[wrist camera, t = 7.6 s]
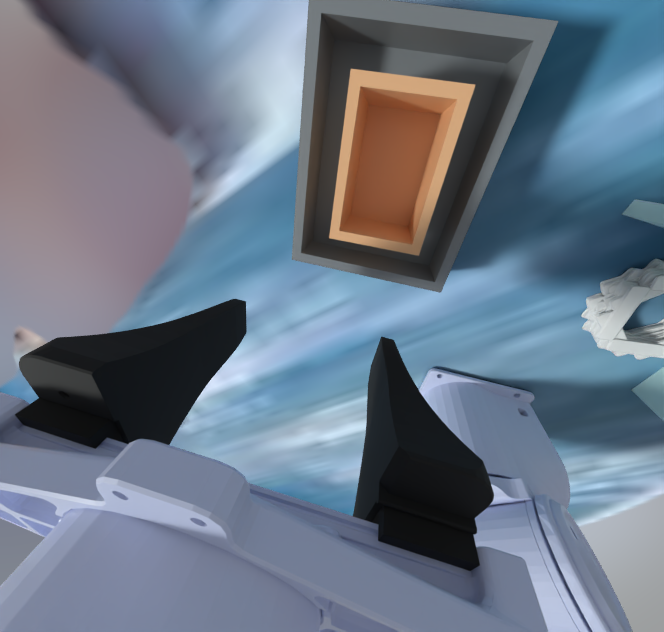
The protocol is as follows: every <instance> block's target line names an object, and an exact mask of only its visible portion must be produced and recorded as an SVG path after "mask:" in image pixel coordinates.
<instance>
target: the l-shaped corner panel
mask: <svg viewBox="0 0 664 632" xmlns="http://www.w3.org/2000/svg"><path fill="white" fill-rule="evenodd" d="M622 215H625V216H628V217H631V218H634V219H638V220H641V221H644V222H647V223H650V224H653V225H656V226H659V227H662V228H664V204H660V203H654V202H648V201H642V200H636V199H635V200H634V201H633V202H632V203H631V204H630V205H629V207H628V208H627V209H626V210H625V211H624V212H623V213H622ZM600 287H601V292H602V293H598V294H595V295H593V296H590V297H587V300H586V304H587V309H586V310H585V311H584V312H583V313H582V315H581V316H582V317H583V318H586V319H589V320H588V321H587V322H586V323H585V324H584V325H583V327H582V329H584V330H587V331H589V332H591V334H592V335H593V337H594V340H595V342H596V343H597V346H598V347H599V348H602V349H606V350H609V351H612V353H614V355H615V356H622V355H625V354H631V355H633V354H634V356H635V358H636V359H638V360H641V359H645V358H648V357H658V358H664V319H663V320H661V321H660V322H659V323H656V324H651V325H647V326H643V327H639V328H635V329H631V330H627V331H626V330H623V326H624V325H625V324H626V322H627V321H628V319H629V318H630V317H631V315H632V314H633V313H634V311H635V310H636V308H637V307H638V306H639V304H640V303H641V302H644V301H646V300H649V299H651V298H654V297H656V296H659V295H661V294H664V261H662V260H660V259H654V260H653V261H651V262H650V263H649V264H648V265H647V266H646V267H645V268H644V269H637V268H629V269H628V270H627V271H626V272H625V273H623V274H622V275H621V276H618V277H615V278H611V279H608V280H605V281H602V282H601V283H600ZM632 391H633V392H634V393H635V394H636V395H637V396H638V397H639V398H640V399H641V400H642V401H643V402H644V403H645V404H646V405H647V406H648V407H649V408H650V409H651V410H652V411H653V412H654V413H655V414H656V415H657V416H658V417H659V418H661V419H662V420H663V421H664V367H663V368H662V369H660V370H659V371H657V372H656V373H654V374H653V375H652V376H650V377H649V378H647V379H646V380H644V381H643V382H642V383H640V384H639V385H637V386H636V387H634V388H633V389H632Z"/></svg>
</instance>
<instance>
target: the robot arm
mask: <svg viewBox="0 0 664 632" xmlns="http://www.w3.org/2000/svg"><path fill="white" fill-rule="evenodd" d="M245 334H246V301H242V300H238V299H232V300H229V301H226V302H224V303H221V304H218V305H216V306H213V307H210V308H208V309H205V310H203V311H200V312H197V313H194V314H191V315H188V316H185V317H182V318H179V319H176V320H173V321H169V322H166V323H162V324H158V325H154V326H149V327H144V328H139V329H133V330H128V331H122V332H115V333H107V334H99V335H90V336H77V337H76V336H75V337H60V338H56V339H54V340H52V341H50V342H48V343H46V344H45V345H43V346H41V347H39V348H37V349H35V350H33V351H31V352H30V353H28V354H26V355H24V356H22V357H21V358H20V361H19V367H20V370H21V372H22V374H23V376H24V377H25V379H26V380H27V381H28V383H29V384H30V386H31V387H32V388H33V390H34V391H35V393H36V394H37V395H38V397H39V399H37V400H36V401H34V402H33V403H31V404H29V403H28V402H26V401H25V400H22V399H20V398H17V397H14V396H11V395H8V394H4V393H1V392H0V518H1V519H4V520H6V521H8V522H11V523H13V524H15V525H18V526H20V527H22V528H25V529H27V530H29V531H32V532H34V533H36V534H39V535H41V536H44V537H45V538H44V540H42V542H41V543H40V544H39V545H38V546H37V547H36V548H35V549H34V550H33V551H32V552H31V554H30V555H29V556H28V557H27V558H26V559H25V560H24V561H23V562H22V563H21V564H20V565H19V567H18V568H17V569H16V570H15V571H14V572H13V573H12V574H11V575H10V576H9V577H8V578H7V579H6V581H5V582H4V583H3V584H2V585H1V586H0V632H633V631H632V629H631V626H630V624H629V621H628V619H627V617H626V615H625V612H624V610H623V608H622V606H621V604H620V602H619V600H618V598H617V596H616V594H615V592H614V590H613V588H612V586H611V584H610V582H609V580H608V578H607V576H606V574H605V572H604V571H603V569H602V567H601V565H600V563H599V561H598V559H597V558H596V556H595V554H594V552H593V550H592V549H591V547H590V545H589V543H588V542H587V540H586V539H585V537H584V535H583V533H582V532H581V530H580V528H579V527H578V525H577V524H576V522H575V521H574V519H573V518H572V516H571V515H570V513H569V512H568V511H567V508H568V505H569V501H570V486H569V480H568V476H567V472H566V469H565V466H564V464H563V462H562V460H561V458H560V457H559V455H558V453H557V451H556V449H555V448H554V446H553V444H552V442H551V441H550V439H549V437H548V435H547V433H546V432H545V430H544V428H543V426H542V424H541V423H540V421H539V419H538V417H537V416H536V414H535V412H534V410H533V408H532V407H531V405H530V403H531V402H532V401H533V400H534V398H535V397H534V395H533V394H532V393H531V392H528V391H524V390H520V389H516V388H512V387H508V386H504V385H500V384H496V383H492V382H488V381H484V380H480V379H476V378H472V377H468V376H464V375H460V374H456V373H452V372H448V371H444V370H440V369H435V368H433V369H430V370H429V371H428V373H427V375H426V377H425V379H424V381H423V383H422V385H421V387H420V389H419V390H418V388H417V387H416V385H415V383H414V382H413V380H412V378H411V376H410V375H409V373H408V371H407V369H406V367H405V365H404V363H403V361H402V358H401V356H400V354H399V351H398V349H397V347H396V344H395V342H394V340H392V339H388V338H384V337H381V339H380V342H379V345H378V348H377V351H376V354H375V356H374V359H373V362H372V365H371V370H370V376H369V382H368V401H367V426H366V436H365V443H364V450H363V457H362V464H361V470H360V477H359V483H358V489H357V496H356V502H355V507H354V513H353V516H350V515H347V514H344V513H341V512H337V511H334V510H331V509H328V508H325V507H322V506H319V505H316V504H312V503H309V502H306V501H303V500H300V499H297V498H294V497H291V496H288V495H284V494H281V493H278V492H275V491H272V490H269V489H266V488H263V487H260V486H256V485H253V484H250V483H248V482H247V480H246V478H245V476H244V475H242V474H241V473H240V472H239V471H238V470H236V469H235V468H234V467H231V466H229V465H227V464H225V463H223V462H220V461H217V460H214V459H211V458H208V457H205V456H202V455H198V454H195V453H192V452H189V451H186V450H183V449H179V448H176V447H173V446H170V445H169V444H170V443H171V441H172V439H173V437H174V436H175V434H176V432H177V430H178V429H179V427H180V425H181V424H182V422H183V420H184V419H185V417H186V415H187V414H188V412H189V411H190V409H191V408H192V406H193V404H194V403H195V401H196V400H197V398H198V397H199V395H200V394H201V392H202V391H203V389H204V388H205V386H206V385H207V384H208V382H209V381H210V380H211V378H212V377H213V376H214V375H215V374H216V373H217V371H218V370H219V369H220V368H221V367H222V365H223V364H224V363H225V362H226V361H227V360H228V358H229V357H230V356H231V355H232V353H233V352H234V351H235V350H236V349H237V347H238V346H239V344H240V343H241V341H242V339H243V338H244V336H245ZM438 374H441V375H438Z"/></svg>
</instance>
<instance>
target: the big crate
mask: <svg viewBox="0 0 664 632" xmlns="http://www.w3.org/2000/svg"><path fill="white" fill-rule="evenodd" d="M557 24H558V21H553V20H545V19H537V18H529V17H521V16H513V15H505V14H497V13H489V12H480V11H472V10H464V9H456V8H448V7H440V6H432V5H424V4H416V3H408V2H400V1H391V0H309V6H308V21H307V37H306V52H305V67H304V82H303V98H302V113H301V128H300V143H299V159H298V174H297V189H296V204H295V220H294V235H293V250H292V260H296V261H301V262H305V263H310V264H314V265H319V266H323V267H328V268H332V269H337V270H341V271H346V272H350V273H355V274H359V275H364V276H368V277H373V278H377V279H382V280H386V281H391V282H395V283H400V284H405V285H409V286H414V287H418V288H423V289H427V290H432V291H436V292H441V291H442V289H443V286H444V284H445V282H446V279H447V277H448V275H449V273H450V270H451V268H452V266H453V263H454V261H455V259H456V256H457V254H458V252H459V249H460V247H461V245H462V243H463V240H464V238H465V236H466V233H467V231H468V229H469V226H470V224H471V222H472V220H473V217H474V215H475V213H476V210H477V208H478V206H479V203H480V201H481V199H482V196H483V194H484V192H485V190H486V187H487V185H488V183H489V180H490V178H491V176H492V173H493V171H494V169H495V166H496V164H497V162H498V160H499V157H500V155H501V153H502V150H503V148H504V146H505V143H506V141H507V139H508V137H509V134H510V132H511V130H512V127H513V125H514V123H515V120H516V118H517V116H518V113H519V111H520V109H521V107H522V104H523V102H524V100H525V97H526V95H527V93H528V90H529V88H530V86H531V84H532V81H533V79H534V77H535V74H536V72H537V70H538V67H539V65H540V63H541V60H542V58H543V56H544V54H545V51H546V49H547V47H548V44H549V42H550V40H551V37H552V35H553V33H554V30H555V28H556V26H557ZM351 69H358V70H365V71H373V72H381V73H389V74H396V75H404V76H412V77H420V78H427V79H435V80H443V81H451V82H458V83H466V84H474V85H475V88H474V91H473V94H472V97H471V100H470V103H469V106H468V109H467V112H466V115H465V118H464V121H463V124H462V127H461V130H460V133H459V136H458V139H457V142H456V145H455V148H454V151H453V154H452V157H451V160H450V163H449V166H448V169H447V172H446V175H445V178H444V181H443V184H442V187H441V190H440V193H439V196H438V199H437V202H436V205H435V208H434V211H433V214H432V217H431V220H430V223H429V226H428V229H427V232H426V235H425V238H424V241H423V244H422V247H421V250H420V253H419V256H418V255H413V254H407V253H402V252H397V251H392V250H387V249H382V248H377V247H372V246H367V245H361V244H356V243H351V242H346V241H341V240H336V239H331V238H329V235H330V227H331V220H332V212H333V204H334V196H335V188H336V180H337V173H338V165H339V157H340V149H341V141H342V134H343V126H344V118H345V110H346V102H347V94H348V87H349V79H350V71H351Z"/></svg>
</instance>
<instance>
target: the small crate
mask: <svg viewBox="0 0 664 632" xmlns="http://www.w3.org/2000/svg"><path fill="white" fill-rule="evenodd" d="M474 88H475V85H474V84H466V83H458V82H451V81H443V80H435V79H427V78H420V77H412V76H404V75H396V74H389V73H381V72H373V71H365V70H358V69H351V71H350V79H349V87H348V94H347V102H346V110H345V118H344V126H343V134H342V141H341V149H340V157H339V165H338V173H337V180H336V188H335V196H334V204H333V212H332V220H331V227H330V235H329V238H331V239H336V240H341V241H346V242H351V243H356V244H361V245H367V246H372V247H377V248H382V249H387V250H392V251H397V252H402V253H407V254H413V255H418V256H419V253H420V250H421V247H422V244H423V241H424V238H425V235H426V232H427V229H428V226H429V223H430V220H431V217H432V214H433V211H434V208H435V205H436V202H437V199H438V196H439V193H440V190H441V187H442V184H443V181H444V178H445V175H446V172H447V169H448V166H449V163H450V160H451V157H452V154H453V151H454V148H455V145H456V142H457V139H458V136H459V133H460V130H461V127H462V124H463V121H464V118H465V115H466V112H467V109H468V106H469V103H470V100H471V97H472V94H473V91H474Z"/></svg>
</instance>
